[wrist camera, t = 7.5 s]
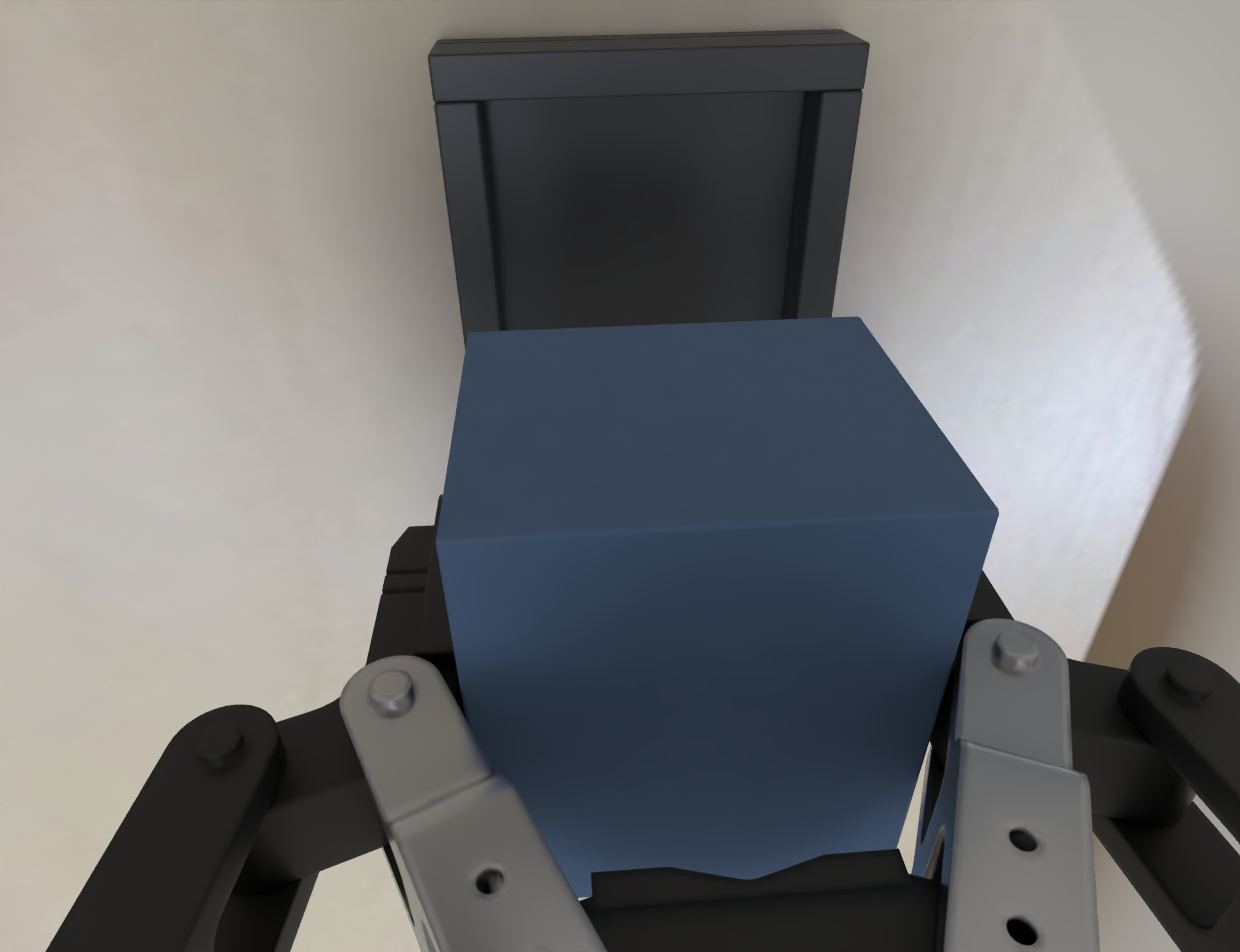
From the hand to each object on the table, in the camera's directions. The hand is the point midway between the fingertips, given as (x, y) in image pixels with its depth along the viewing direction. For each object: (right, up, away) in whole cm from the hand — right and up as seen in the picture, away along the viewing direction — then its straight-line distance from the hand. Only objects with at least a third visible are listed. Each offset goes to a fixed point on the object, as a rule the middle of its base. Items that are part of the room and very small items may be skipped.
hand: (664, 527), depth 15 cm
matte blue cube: (0, 0, +1) cm, 1 cm away
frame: (0, +4, +12) cm, 13 cm away
